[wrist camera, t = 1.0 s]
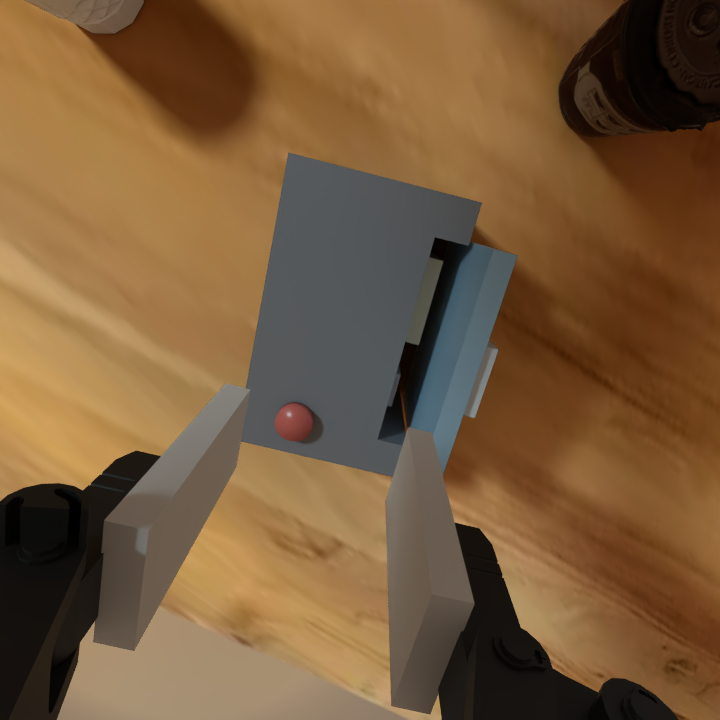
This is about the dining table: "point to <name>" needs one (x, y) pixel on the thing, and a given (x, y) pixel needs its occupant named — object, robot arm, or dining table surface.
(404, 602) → the robot arm
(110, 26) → the white cup
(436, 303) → the side door
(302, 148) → the dining table surface
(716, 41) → the coffee cup
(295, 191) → the grey notched block
